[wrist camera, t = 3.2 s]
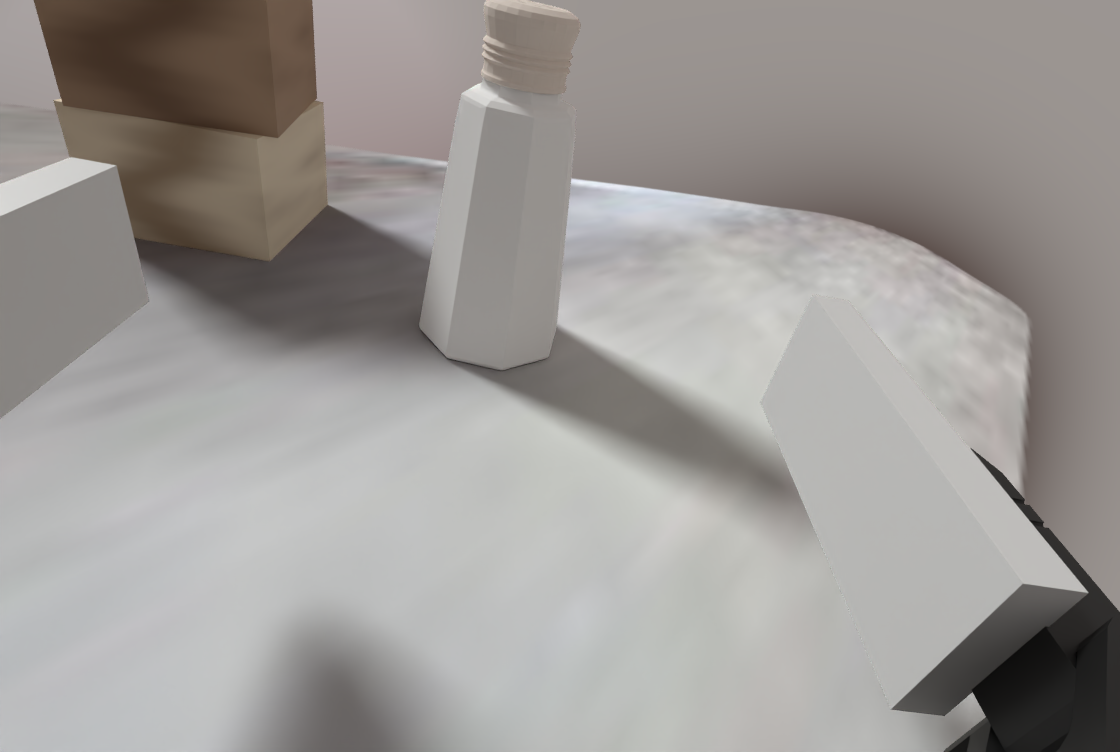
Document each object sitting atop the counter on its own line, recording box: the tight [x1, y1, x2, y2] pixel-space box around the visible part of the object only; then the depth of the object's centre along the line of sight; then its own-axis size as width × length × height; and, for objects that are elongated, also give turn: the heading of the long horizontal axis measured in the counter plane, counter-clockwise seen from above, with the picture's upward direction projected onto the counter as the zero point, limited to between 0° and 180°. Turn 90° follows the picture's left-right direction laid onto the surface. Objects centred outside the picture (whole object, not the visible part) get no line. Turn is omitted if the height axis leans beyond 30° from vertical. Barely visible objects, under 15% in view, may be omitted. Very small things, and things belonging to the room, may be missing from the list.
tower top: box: [34, 0, 317, 138], centre depth 23 cm, size 7×7×5 cm
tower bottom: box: [54, 99, 328, 261], centre depth 25 cm, size 7×7×5 cm
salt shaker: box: [419, 0, 581, 371], centre depth 20 cm, size 5×5×11 cm
